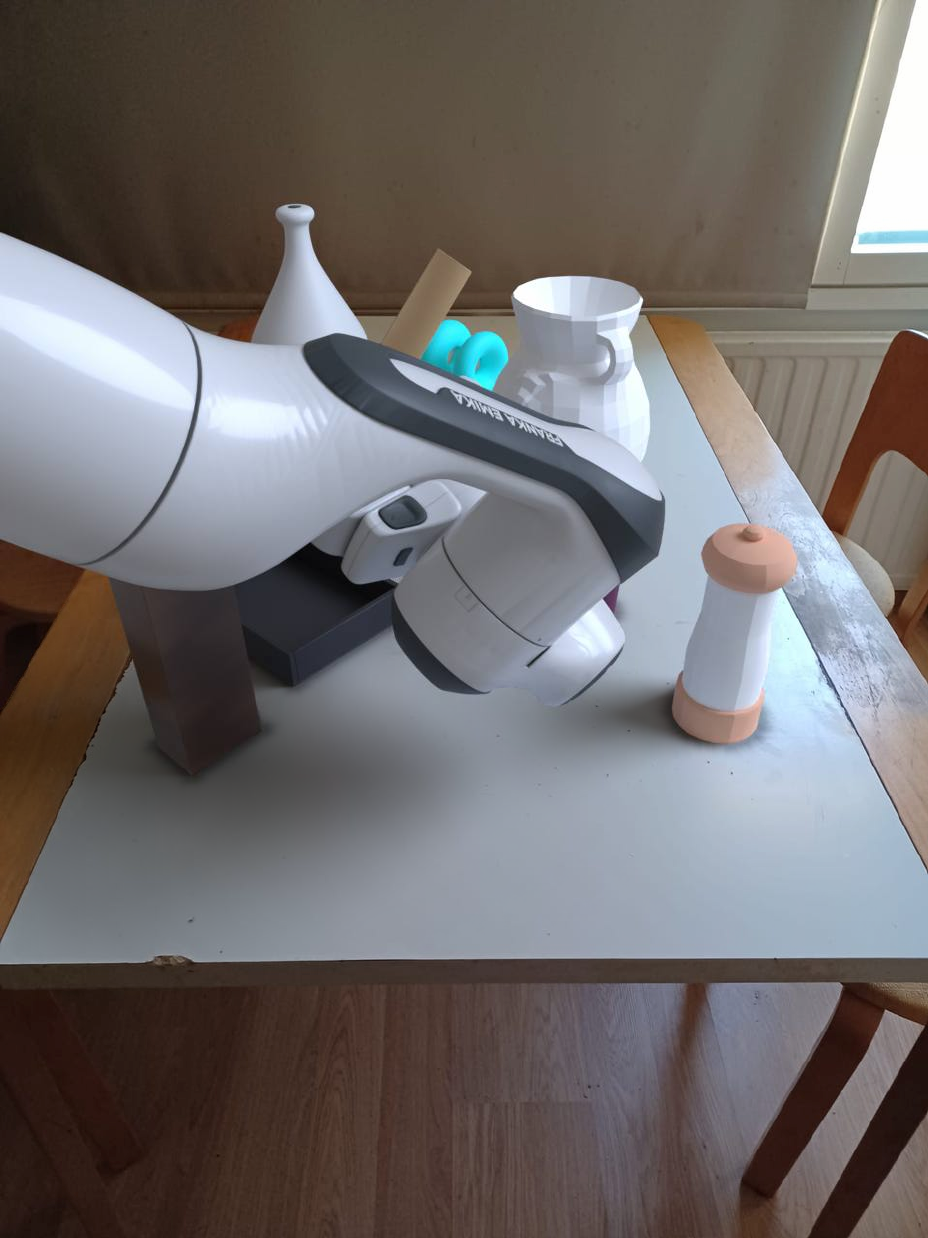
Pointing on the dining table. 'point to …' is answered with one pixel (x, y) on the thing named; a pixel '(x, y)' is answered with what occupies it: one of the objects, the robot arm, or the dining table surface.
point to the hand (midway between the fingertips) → (333, 380)
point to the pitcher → (579, 357)
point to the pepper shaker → (732, 633)
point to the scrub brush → (427, 305)
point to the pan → (309, 613)
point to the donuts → (467, 353)
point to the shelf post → (190, 669)
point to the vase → (302, 291)
